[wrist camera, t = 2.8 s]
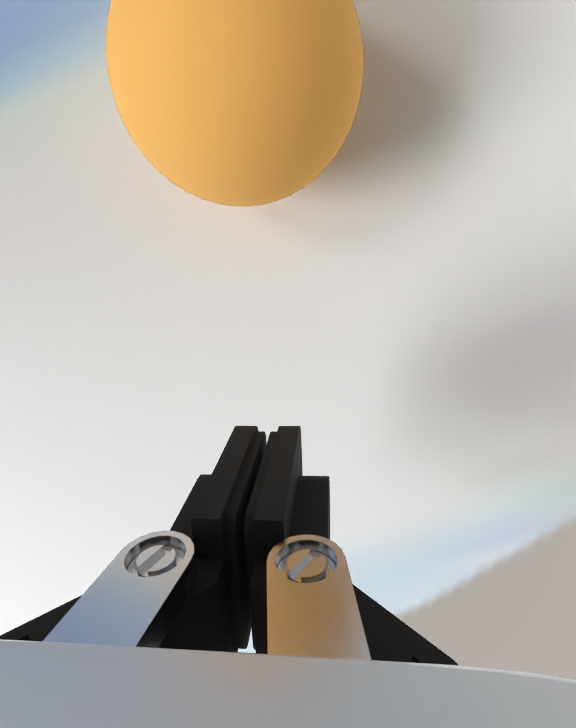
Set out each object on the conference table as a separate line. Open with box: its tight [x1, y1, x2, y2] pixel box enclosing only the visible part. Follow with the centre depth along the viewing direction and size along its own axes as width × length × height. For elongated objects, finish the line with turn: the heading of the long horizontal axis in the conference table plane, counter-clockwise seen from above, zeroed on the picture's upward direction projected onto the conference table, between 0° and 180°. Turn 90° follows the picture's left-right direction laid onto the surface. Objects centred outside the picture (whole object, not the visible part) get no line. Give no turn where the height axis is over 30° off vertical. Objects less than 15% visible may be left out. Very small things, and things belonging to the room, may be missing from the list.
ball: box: [106, 0, 364, 206], centre depth 11 cm, size 6×6×6 cm
